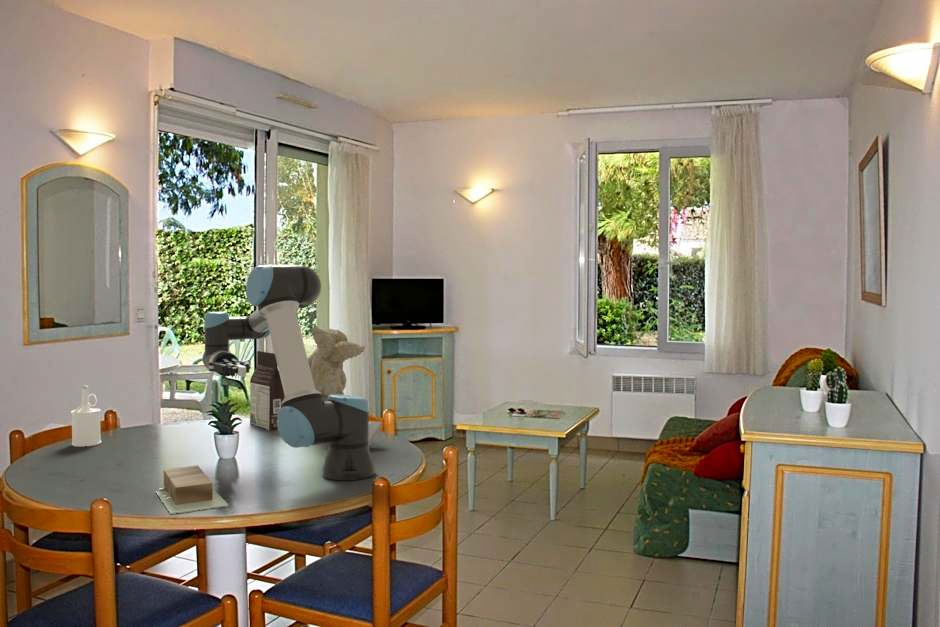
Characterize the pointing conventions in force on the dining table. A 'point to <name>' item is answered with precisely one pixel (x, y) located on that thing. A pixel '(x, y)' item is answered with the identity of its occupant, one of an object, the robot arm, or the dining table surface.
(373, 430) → the light switch
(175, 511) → the mat
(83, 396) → the white handled jug
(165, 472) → the block
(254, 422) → the protein powder
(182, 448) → the dining table surface
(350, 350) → the sculpture
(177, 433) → the dining table surface
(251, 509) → the dining table surface
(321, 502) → the dining table surface
